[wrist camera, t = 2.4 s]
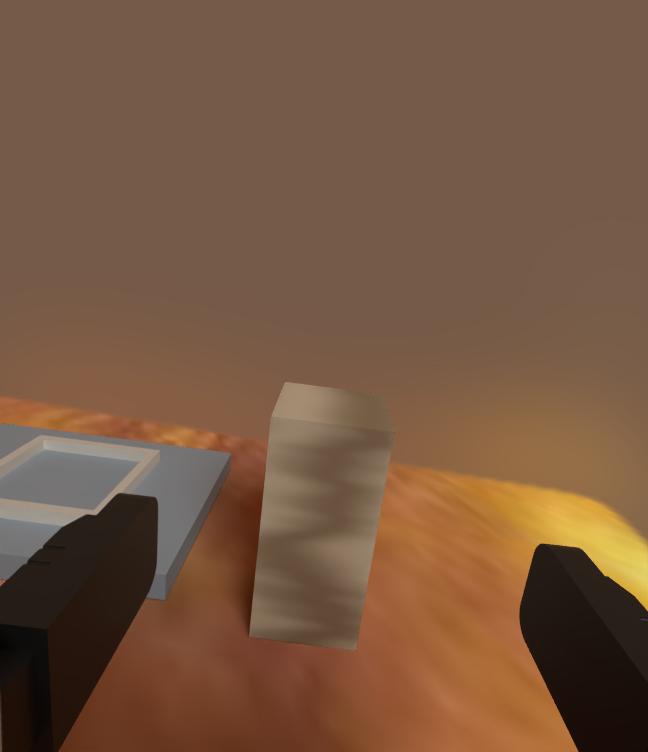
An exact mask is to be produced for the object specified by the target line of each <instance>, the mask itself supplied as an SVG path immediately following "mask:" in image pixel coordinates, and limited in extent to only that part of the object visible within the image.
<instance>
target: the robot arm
mask: <svg viewBox="0 0 648 752" xmlns="http://www.w3.org/2000/svg"><path fill="white" fill-rule="evenodd" d="M157 545H158V501H157V499H156V497H151V496H143V495H134V494H126V493H118V494H116V495H115V496H114V497H113V498H112V499H111V500H110V501H109V502H108V503H107V505H106V506H105V507H104V508H103V509H102V510H101V511H100V512H99V513H98V514H97V515H90V514H86V515H84V516H82V517H80V518H78V519H76V520H75V521H73V522H71V523H69V524H67V525H65V526H63V527H61V528H60V529H59V530H58V531H57V532H56V533H55V534H54V535H53V536H52V537H51V538H50V539H49V540H48V541H47V542H46V543H45V544H44V545H43V548H42V549H39V550H38V551H37V552H36V553H34V554H33V555H32V556H31V557H30V558H29V559H28V562H27V564H23V565H22V566H21V567H20V568H19V569H18V570H17V571H16V572H15V573H14V574H13V575H12V576H11V577H10V578H9V579H8V580H7V581H6V582H5V583H3V584H2V585H1V586H0V752H58V751H59V749H60V747H61V746H62V744H63V742H64V740H65V739H66V737H67V735H68V733H69V732H70V730H71V728H72V726H73V725H74V723H75V721H76V719H77V718H78V716H79V714H80V712H81V711H82V709H83V707H84V705H85V704H86V702H87V700H88V698H89V697H90V695H91V693H92V691H93V690H94V688H95V686H96V684H97V683H98V681H99V679H100V677H101V675H102V674H103V672H104V670H105V668H106V667H107V665H108V663H109V661H110V660H111V658H112V656H113V654H114V653H115V651H116V649H117V647H118V646H119V644H120V642H121V640H122V639H123V637H124V635H125V633H126V632H127V630H128V628H129V626H130V625H131V623H132V621H133V619H134V618H135V616H136V614H137V612H138V611H139V609H140V607H141V605H142V604H143V602H144V600H145V598H146V597H147V595H148V593H149V591H150V589H151V586H152V583H153V580H154V576H155V572H156V567H157ZM520 626H521V631H522V635H523V638H524V640H525V642H526V644H527V646H528V648H529V651H530V653H531V655H532V657H533V659H534V661H535V663H536V665H537V667H538V669H539V671H540V673H541V675H542V677H543V679H544V681H545V683H546V686H547V688H548V690H549V692H550V694H551V696H552V698H553V700H554V702H555V704H556V706H557V708H558V710H559V712H560V714H561V716H562V718H563V721H564V723H565V725H566V727H567V729H568V731H569V733H570V735H571V737H572V739H573V741H574V743H575V745H576V747H577V749H578V751H579V752H648V611H647V610H646V609H645V608H644V607H643V605H642V604H641V603H640V602H639V601H638V600H637V599H636V597H635V596H633V595H632V594H631V593H629V592H628V591H627V590H625V589H624V588H623V587H621V586H620V585H619V584H617V583H616V582H615V581H613V580H612V579H611V578H609V577H607V576H604V575H603V573H602V572H601V571H600V570H599V569H598V567H597V566H596V565H595V564H594V563H593V562H592V560H591V559H590V558H589V557H588V556H587V554H586V553H585V552H584V551H583V550H582V549H580V548H577V547H568V546H560V545H551V544H539V545H538V546H537V548H536V549H535V552H534V555H533V559H532V562H531V566H530V570H529V574H528V578H527V581H526V585H525V589H524V593H523V597H522V601H521V605H520Z"/></svg>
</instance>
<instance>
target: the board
mask: <svg viewBox="0 0 648 752" xmlns="http://www.w3.org/2000/svg"><path fill="white" fill-rule="evenodd" d="M230 466H231V453H227V452H219V451H211V450H204V449H196V448H188V447H180V446H173V445H165V444H157V443H150V442H142V441H134V440H126V439H119V438H111V437H103V436H95V435H88V434H80V433H72V432H64V431H57V430H49V429H41V428H34V427H26V426H18V425H10V424H2V425H0V579H4V580H8V579H9V578H10V577H11V576H12V575H13V574H14V573H15V572H16V571H17V570H18V569H19V568H20V567H21V566H22V565H23V564H27V562H28V559H29V558H30V557H31V556H32V555H33V554H34V553H36V552H37V551H38V550H39V549H42V548H43V545H44V544H45V543H46V542H47V541H48V540H49V539H50V538H51V537H52V536H53V535H54V534H55V533H56V532H57V531H58V530H59V529H60V528H61V527H63V526H65V525H67V524H69V523H71V522H73V521H75V520H76V519H78V518H80V517H82V516H84V515H86V514H90V515H97V514H98V513H99V512H100V511H101V510H102V509H103V508H104V507H105V506H106V505H107V503H108V502H109V501H110V500H111V499H112V498H113V497H114V496H115V495H116V494H118V493H126V494H134V495H143V496H151V497H156V499H157V501H158V545H157V567H156V572H155V576H154V580H153V583H152V586H151V589H150V591H149V593H148V595H147V597H146V598H151V599H159V600H165V599H166V597H167V595H168V593H169V591H170V589H171V587H172V585H173V583H174V581H175V579H176V577H177V575H178V573H179V571H180V569H181V567H182V565H183V563H184V561H185V559H186V557H187V555H188V553H189V551H190V549H191V547H192V545H193V543H194V541H195V539H196V537H197V535H198V533H199V531H200V529H201V527H202V525H203V523H204V521H205V519H206V517H207V515H208V513H209V511H210V509H211V507H212V505H213V503H214V501H215V499H216V497H217V495H218V494H219V492H220V490H221V488H222V486H223V484H224V482H225V480H226V478H227V476H228V474H229V472H230Z"/></svg>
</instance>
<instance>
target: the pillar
mask: <svg viewBox="0 0 648 752" xmlns="http://www.w3.org/2000/svg"><path fill="white" fill-rule="evenodd" d="M394 433H395V432H394V429H393V425H392V422H391V419H390V415H389V412H388V409H387V406H386V403H385V399H384V396H383V395H381V394H372V393H365V392H357V391H350V390H342V389H335V388H327V387H319V386H311V385H303V384H296V383H289V382H285V385H284V387H283V389H282V392H281V394H280V397H279V399H278V401H277V404H276V406H275V408H274V411H273V413H272V416H271V424H270V434H269V443H268V453H267V463H266V473H265V483H264V493H263V503H262V513H261V523H260V532H259V542H258V552H257V562H256V572H255V582H254V592H253V602H252V612H251V622H250V631H249V637H253V638H260V639H268V640H276V641H284V642H291V643H299V644H307V645H314V646H322V647H330V648H338V649H345V650H353V651H356V645H357V640H358V634H359V629H360V623H361V618H362V612H363V606H364V601H365V595H366V590H367V584H368V579H369V573H370V567H371V562H372V556H373V551H374V545H375V539H376V534H377V528H378V523H379V517H380V512H381V506H382V500H383V495H384V489H385V484H386V478H387V472H388V467H389V461H390V456H391V450H392V444H393V439H394Z"/></svg>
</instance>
